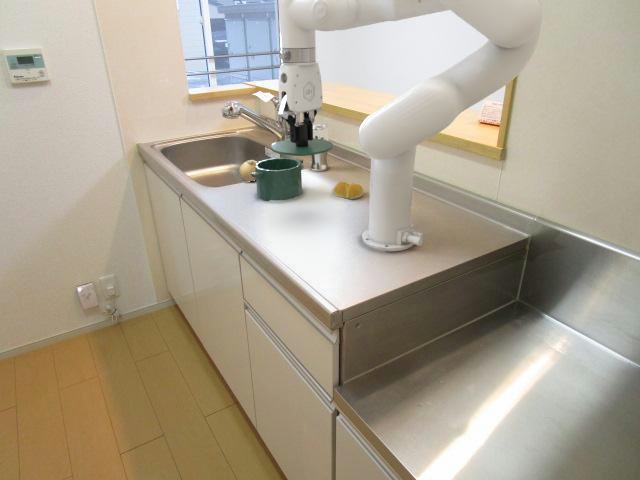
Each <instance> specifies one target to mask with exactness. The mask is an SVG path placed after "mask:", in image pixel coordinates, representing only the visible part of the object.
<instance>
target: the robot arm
mask: <svg viewBox="0 0 640 480" xmlns="http://www.w3.org/2000/svg"><path fill="white" fill-rule="evenodd" d="M277 3H278V21H279V39H280V53H279V59H280V60H281V64H280V66H279V76H278V102H279V109H278V113H277V116H278V117H279V118H281V119H283V120H284V121H285V122H286V124H287V126H289V139H290V141H291V142H292V143H297V144H301V143H302V127H301V126H299V124H300V123H307V124H308V140H310V141H311V140H313V125H314V124H313V123H315V121H316V119H315V118H316V116H317V114H318V113H319V112H320V111H321V109H322V106H323V102H324V98H323V84H322V83H323V82H322V76H321V70H320V65H319V63H318V62H317V48H316V47H317V45H316V31H320V32H334V31H335V32H336V31H346V30H350V29H356V28H362V27H367V26H371V25H375V24H380V23H385V22H398V21H402V20H408V19H412V18H416V17H422V16H426V15H431V14H436V13H442V12H447V11H451V12H452V13H453V14H454V15H456V17H458V18H460V19H461V20H462V21H464V22H465V23H466V24H468V25H469V26H470V27H472V28H473V29H475V30H476V31H477V32H478V33H480V34H481V35H483V37H485V38H486V39H488V40H487V41H486V42H485V43H484V44H483V45H482V46H480V47H479V48H478V49H476V50H475V51H474V52H472V53H470V54H468V55H467V56H466V57H464V58H463V59H462V60H460V61H458V62H457V63H455V64H454V65H452V66H450V67H449V68H447V69H445V70H444V71H442V72H440V73H438V74H436V75H433V76H431V77H429V78H426V79H424V80H423V81H421V82H420V83H417V84H416V85H415V86H412V88H411V89H409V90H407V91H406V92H404V93H403V94H401V95H399V96H398V97H396V98H395V99H392V100H391V101H390V102H388V103H387V104H385V105H383V106H381V107H380V108H378V109H377V110H376V111H374V112H372V113H370V114H369V115H367V116H366V118H365V119H364V120H363V122H362V123H361V125H360V127H359V130H358V131H359V132H358V142H359V146H360V148H361V150H362V151H363V153H365V154H366V155H367V157H368V156H369V157H370V169H369V171H370V172H369V173H370V174H369V175H370V176H369V207H368V211H369V212H368V213H369V214H368V228H366V230H364V231H363V232H362V235H361V237H362V238H361V239H362V240H361V241H362V242H363V243H364V244H365V245H367V246H368V247H371V248H374V249H376V250H382V251H386V252H401V251H405V250H409V249H411V248H412V247H413V246H414V245H415V246H418V247H421V246H422V244H423V243H424V242H423V241H424V239H423V238H424V234H423V233H422V232H417V231H415V224H414V223H412V222H411V213H412V198H413V183H414V173H415V171H414V170H415V162H416V161H415V160H416V152H417V146H418V145H420V144H422V143H423V142H425V141H428V140H429V139H431V138H432V137H435V136H436V135H438V134H439V133H441V132H442V131H443V130H445V129H447V128H449V126H450V125H451V124H453V122H454V121H455V120H456V118H457V117H458V116H459V115H461V113H463V112H464V111H466V110H468V109H470V108H471V107H473V106H475V105H477V104H478V103H479V102H480V103H481V101H483V100H484V99H486V98H488V97H489V96H492V95H493V94H495V93H496V92H497V91H499V90H501V89H502V88H504V87H505V86H507V85H508V84H509V83H510V82H512V81H513V80H514V79H516V78H517V77H518V76H519V75H520V74H521V73H522V71H523V70H524V69H525V68H526V67H527V65H528V63H529V62H530V60H531V59H532V58H533V55H534V53H535V51H536V49H537V47H538V42H539V39H540V34H541V28H542V21H543V9H542V5H541V3H540V1H539V0H278V2H277ZM301 117H302V121H300V120H301Z"/></svg>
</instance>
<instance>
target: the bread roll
mask: <svg viewBox="0 0 640 480" xmlns="http://www.w3.org/2000/svg"><path fill="white" fill-rule="evenodd" d="M363 195H364V188H363V186H362V185H361V184H360V183H354V182H352V183H348V182H346V181H340V182H338V183H336V184H335V186H334V187H333V189H332V196H335V197H337V198H341V199H347V200H357V199H359V198H361V197H363Z"/></svg>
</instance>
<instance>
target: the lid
mask: <svg viewBox="0 0 640 480" xmlns="http://www.w3.org/2000/svg"><path fill="white" fill-rule="evenodd" d="M299 126H301V127H302V143H301V144H297V143H292V142H291V141H290V138H288V139H283V140H282V139H281V140H279V141H275V142H274V143H272V144H271V146H270V150H271V151H272V152H273V153H276V154H278V155H284V156H292V157H306V156H311V155H315V154H320V153H324V152H327V151H328V152H330V151H331V150H332V149H333V148H334V144H333V142H332V141H330V140H329V141H327V140H323V139H315V138H313V140H311V141H310V140H308V124H307V123H301V122H300V124H299ZM328 152H327V153H328Z"/></svg>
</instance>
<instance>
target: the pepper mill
mask: <svg viewBox="0 0 640 480" xmlns="http://www.w3.org/2000/svg"><path fill="white" fill-rule="evenodd" d="M313 138H315V139H323V140H327V141H329V142H330V134H329V126H328V125H326V124H313ZM328 152H329V151H327V152H324V153H320V154H315V155H310V156H311V165H310V169H311V171H313V172H326V171H327V170H328V169H329V165H328Z"/></svg>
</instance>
